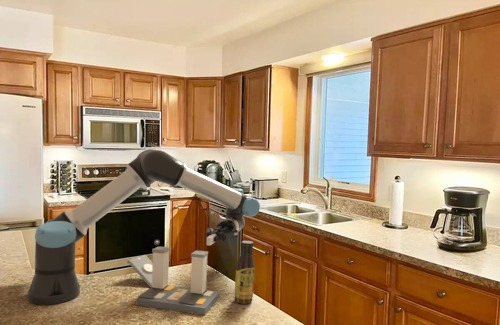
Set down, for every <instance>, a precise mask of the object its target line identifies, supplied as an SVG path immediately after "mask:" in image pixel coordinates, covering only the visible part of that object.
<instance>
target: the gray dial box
mask: <svg viewBox="0 0 500 325" xmlns="http://www.w3.org/2000/svg"><path fill="white" fill-rule="evenodd" d="M126 262H127V263H128V264H129V265H130V266H131V268H133V270H134V271H135V272H136V273H137V275H138V276H140V278H142V280H143V281H144V282H145V283H146V284H147V285H148V286H149V288H151V287H152V267H153V260H151V259H150V258H149V257H148V256H147V255H146V254H143V255H140V256H136V257H132V258H129V259H127V261H126Z"/></svg>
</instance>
